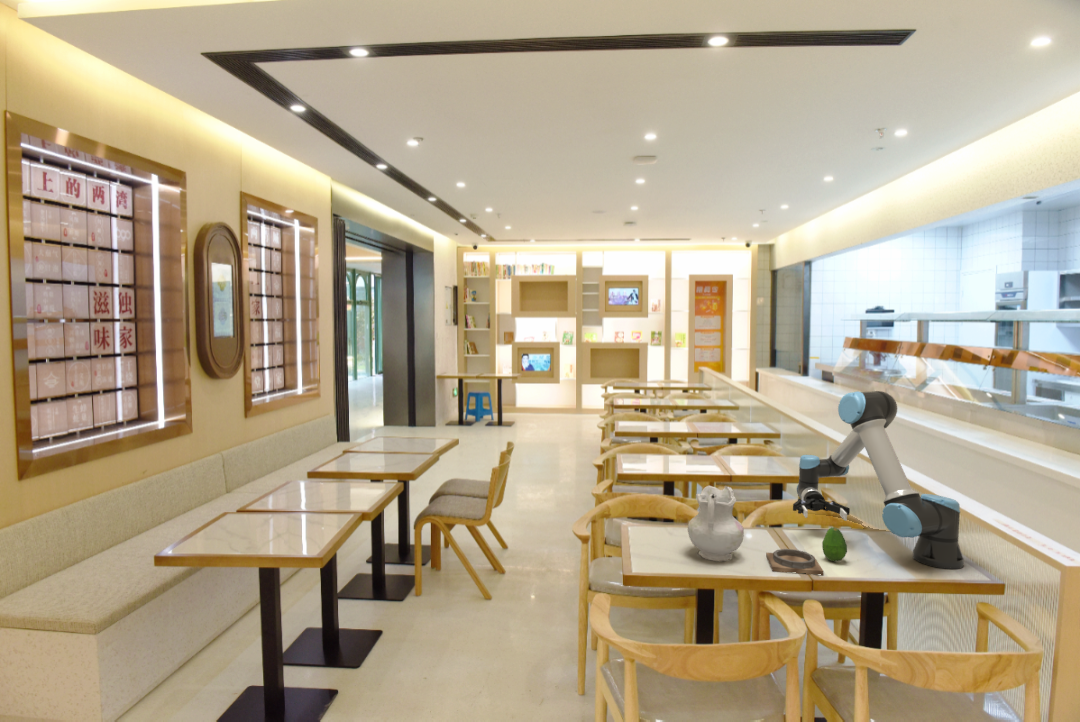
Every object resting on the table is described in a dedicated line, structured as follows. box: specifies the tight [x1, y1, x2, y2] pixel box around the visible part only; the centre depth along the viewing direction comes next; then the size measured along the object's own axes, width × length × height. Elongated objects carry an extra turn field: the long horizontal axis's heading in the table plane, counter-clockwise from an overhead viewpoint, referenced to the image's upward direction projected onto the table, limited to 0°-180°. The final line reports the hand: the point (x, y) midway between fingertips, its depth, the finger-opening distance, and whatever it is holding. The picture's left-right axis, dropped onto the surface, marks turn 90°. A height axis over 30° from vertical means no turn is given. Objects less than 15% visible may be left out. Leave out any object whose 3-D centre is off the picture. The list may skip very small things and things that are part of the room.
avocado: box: [821, 526, 848, 562], centre depth 218 cm, size 8×8×12 cm
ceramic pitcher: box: [687, 485, 745, 562], centre depth 221 cm, size 22×20×25 cm
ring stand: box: [765, 548, 825, 576], centre depth 214 cm, size 16×14×4 cm
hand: (826, 515), depth 230 cm, fingers open, 13 cm apart
